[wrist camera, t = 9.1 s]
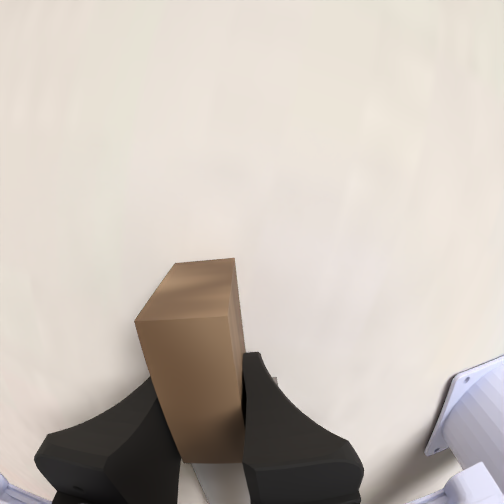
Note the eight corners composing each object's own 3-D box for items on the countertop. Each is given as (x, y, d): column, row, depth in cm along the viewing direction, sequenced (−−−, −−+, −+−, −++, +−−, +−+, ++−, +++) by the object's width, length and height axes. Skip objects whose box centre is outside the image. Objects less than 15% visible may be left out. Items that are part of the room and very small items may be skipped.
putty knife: (267, 254, 12) (281, 311, 7) (284, 515, 18) (289, 562, 13) (145, 265, 12) (92, 321, 7) (223, 518, 18) (222, 565, 13)
